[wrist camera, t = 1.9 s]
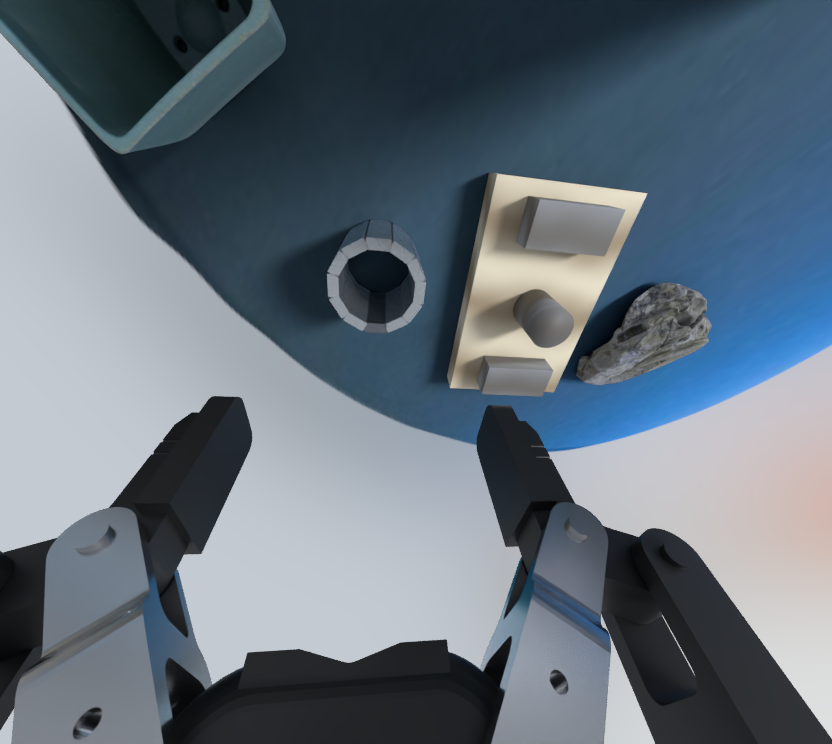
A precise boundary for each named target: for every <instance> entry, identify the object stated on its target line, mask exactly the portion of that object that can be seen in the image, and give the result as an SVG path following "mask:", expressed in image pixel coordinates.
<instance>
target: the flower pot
mask: <svg viewBox="0 0 832 744" xmlns="http://www.w3.org/2000/svg"><path fill="white" fill-rule="evenodd" d="M227 1H228V4H229V9H228V11H223V10H222V9H221V7H220V5H219V0H0V33H1V34H2V35H3V36H4V37H5V38H6V39H7V40H8V42H9V43H10V44H11V45H12V46H13V47H14V48H15V49H16V50H17V51H18V53H20V55H21V56H22V57H23V58H24V59H25V60H26V61H27V62H28V63H29V64H30V65H31V66H32V67H33V68H34V69H35V70H36V71H37V72H38V73H39V75H40V76H41V77H42V78H43V79H44V80H45V81H46V83H48V84H49V86H50V87H52V89H53V90H54V91H56V92H57V93H58V94H59V96H60V97H61V98H62V99H63V100H64V101H65V102H66V103H67V104H68V105H69V106H70V107H71V108H72V109H73V111H74V112H75V113H76V114H77V115H78V116H79V117H80V118H81V119H82V120H83V121H84V122H85V123H86V125H87V126H88V127H89V128H91V130H92V131H93V132H94V133H95V134H96V135H97V136H98V137H99V138H100V139H101V140H102V141H103V142H104V143H105V144H106V145H108V146H109V147H110V148H111V149H112V150H114V151H115V152H117V153H119V154H125V153H130V152H134V151H139V150H144V149H149V148H154V147H158V146H163V145H167V144H171V143H175V142H179V141H182V140H184V139H186V138H188V137H189V136H191V135H192V134H194V133H195V132H196V131H197V130H199V129H200V128H201V127H202V126H203V125H204V124H205V123H206V122H207V121H208V120H209V119H210V118H211V117H212V116H214V115H215V114H216V113H217V112H218V111H219V110H220V109H221V108H222V107H223V106H225V105H226V104H227V103H228V102H229V101H230V100H231V99H232V98H233V97H234V96H236V95H237V94H238V93H239V92H240V91H241V90H242V89H243V88H245V87H246V86H247V85H248V84H249V83H250V82H251V81H252V80H254V79H255V78H256V77H257V76H258V75H259V74H260V73H262V72H263V71H264V70H265V69H266V68H267V67H268V66H270V65H271V64H272V63H273V62H274V61H276V60H277V59H278V58H279V57H280V56H281V55H282V53H283V52H284V50H285V46H286V37H285V33H284V30H283V27H282V25H281V23H280V20H279V18H278V16H277V14H276V11H275V9H274V7H273V5H272V3H271V1H270V0H227ZM178 40H183V41H184V42H185V43H186V45H187V51H186V52H185V53H183V52H181V51H180V50H179V48H178V46H177V41H178Z"/></svg>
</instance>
